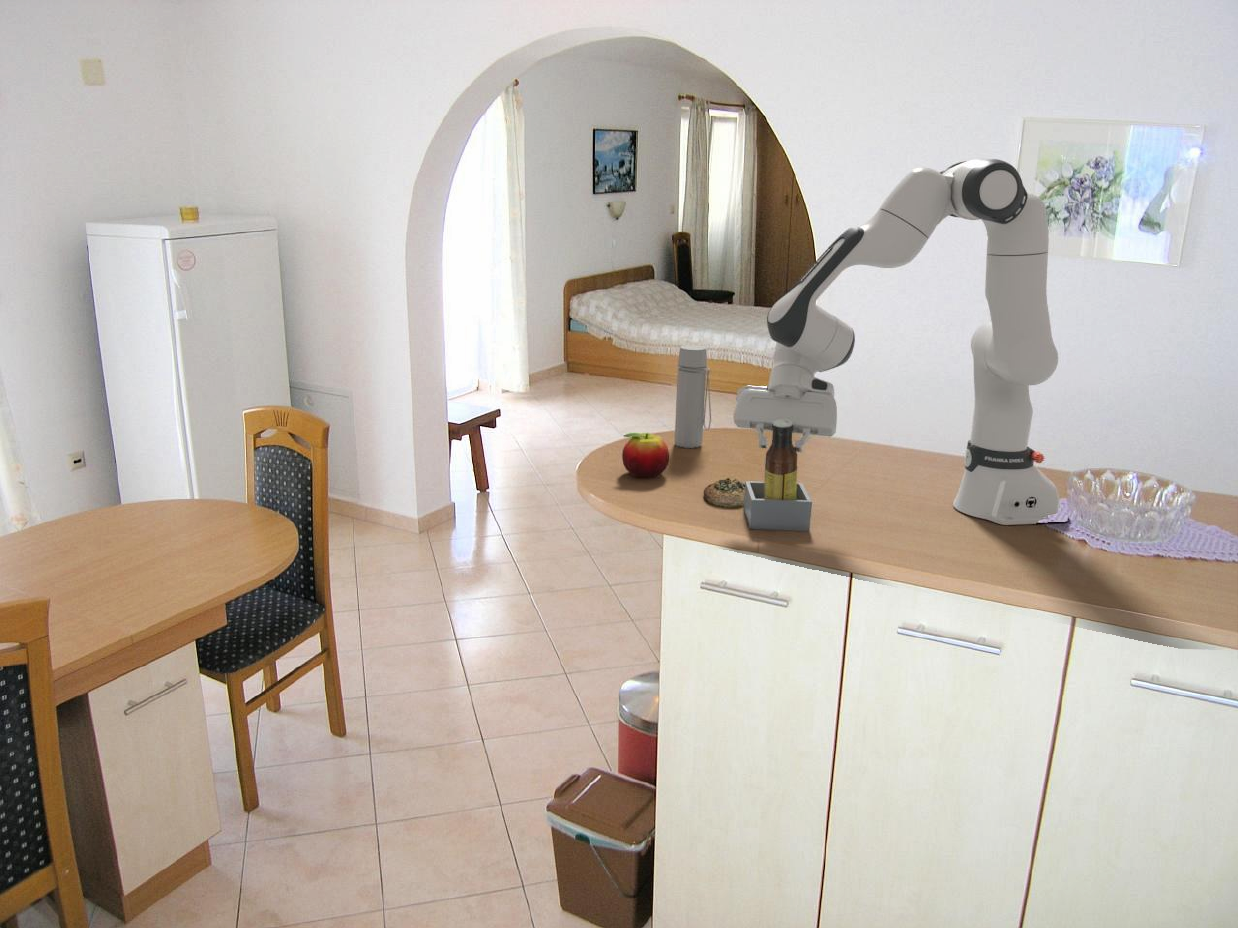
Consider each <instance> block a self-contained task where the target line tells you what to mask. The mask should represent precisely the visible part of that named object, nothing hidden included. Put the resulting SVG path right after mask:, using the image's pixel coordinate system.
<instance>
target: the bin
mask: <svg viewBox="0 0 1238 928" xmlns="http://www.w3.org/2000/svg"><path fill="white" fill-rule="evenodd" d="M764 483H765V481H754V480H753V481H752V480H751V481H748V480H746V481H745V483H744V484H745V493H744V505H743V511H744V515H745V518H746V521H747V524H748V525H747V526H748V527H749V529H750V530H764V531H765V530H768V531H769V530H770V531H774V530H775V531H796V532H797V531H799V532H800V531H803V532H810V528H811V518H812V509H813V508H812V507H813V501H812V499H811V497H810V494H808V492H807V489H806V488H805V485H804V483H803V482H797V490H796V500H782V499H764Z"/></svg>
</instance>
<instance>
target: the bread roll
mask: <svg viewBox="0 0 1238 928" xmlns="http://www.w3.org/2000/svg"><path fill="white" fill-rule="evenodd" d="M744 493H745V483H743V482H742V481H740V480H739V479H737V478H735V479H733V480H732V479H730V477H727V478H725V479H723V478H721V479H719V480H718V481H717V480H716V481H715V482H713V483H711V484H708V485H707V486H706V487H705V488H704V489H703V497H704V500H706V501H707V502H708V503H709V504H711V505H714V506H717V507H722V506H724V507H723V508H734V507H735V508H737V507H742V506H743V507H744ZM718 505H720V506H718Z"/></svg>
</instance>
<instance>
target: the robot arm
mask: <svg viewBox="0 0 1238 928" xmlns="http://www.w3.org/2000/svg"><path fill="white" fill-rule="evenodd" d="M1046 208H1047V207H1046V204H1045V202H1044V201H1043V199H1042V198H1040V197H1039V196H1037V195H1035V194H1032V193H1028V192H1027V189H1026V188H1025V185H1024V183H1023V180H1022V178H1021V175H1020V173H1019V171H1018V170H1017V169H1016V168H1015V167H1014V166H1013V165H1012V164H1010V163H1009V162H1007V161H1005V160H1002V159H999V158H997V159H996V158H992V159H991V158H990V159H989V158H975V159H971V160H967V161H966V160H965V161H960V162H957V163H955V164H951V165H950V166H949V167H947V168H945V169H943V170H942V171H940V172H939V171H937V170H936V169H932V168H930V167H917V168H914V169H912V170H911V171H909V172H908V173H907V174H906V175H905V176H904V177H903V178H902V179H901V180H900V182H899V183H898V184H897V185H896V186H895V187H894V188H893V189H892V191H891V192H890V193H889V195H888V196H887V197H886V198H885V199H884V201H883V203H882V204H881V206H880V207H879V208H878V209H877V211H876V212H875V214H874V215H873V216H872V217H871V218H870V219H869V220H867V222H865V223H864V224H862V225H861V226H857V227H856V226H853V227H850V228H848V229H847V230H845V231H844V232H843V233H842V234H840V235H839V236H838V237H837V238H836V239H834V241H833V242H832V243H831V244H829V247H827V249H825V250H824V251H823V253H822V254H820V256H819V257H818V258H817V260H815V261H814V263H813V264H812V265H811V266H810V268H808V269H807V271H806V272H805V273H804V274H803V275H802V276H801V277H800V278H799V279H798V281H797V282H796V283H795V284H794V285H793V286H792V287H791V288H790V289H789V290H788V291H787V292H785V293H784V294H783V295H782V296H781V297H780V298H778V299H777V300H776V302H775V303H774V304H773V305H772V306H771V308H770V309H769V311H768V313H767V315H766V316H767V317H766V325H767V330H768V332H769V337H770V339H771V340H772V341H774V342H776V344H775V347H774V352H773V365H772V366H773V367H772V368H771V370H770V374H769V375H770V376H769V380H768V386H763V385H761V386H760V385H757V386H756V385H749V384H748V385H745V386H743V387H742V386H741V387H740V388H739V389H738V390H737V392H736V398H735V400H736V402H737V403H736V405H735V409H734V411H733V422H734V424H735V426H736V427H737V428H741V429H753V430H755V431H756V436H757V437H758V448H760V449H761V448H762V449H767V448H768V436H764V432H765V431H770V432H773V431H772V422H773V421H775V420H778V419H785V420H790V421H792V422H793V424H794V425H793V427H794V429H793V431H792V434H800V435H802V437H801V438H800V439H795V440H794V445H793V447H794V449H795V451H796V452H797V453H799V452H800V453H803V449H804V448H803V447H804V446H805V445H806V443H808V442H809V440H811V436H821V437H828V438H829V437H830V438H831V437H833V436H834V435H836V433H837V426H838V425H837V424H838V423H837V421H838V420H837V419H838V411H837V401H836V399H835V387H834V384H833V383H831V382H829V381H825V380H823V379H821V378H819V377H815V375H816V373H817V372H818V373H823V372H826V371H829V370H833V369H835V368H838V367H840V366H842V365H844V364H845V363H847V362H848V361H849V360H850V359H851V358H850V357H852V353H853V351H854V348H855V342H856V338H855V337H856V335H855V331H854V329H853V327H851V326H850V325H848V324H847V323H846V322H845V321H843V320H841V319H840V318H838V317H837V316H835V315H833V314H831V313H829V312H828V311H826V310H825V309H823V308H822V307H820V306H819V305H818V304H816V303H817V300H818V299H819V297H820V296H822V295H823V294H824V293H825V292H826V290H827V289H828V288H829V287H830V286H831V284H832V283H833V282H834V281H835V280H836V279H837V278H838V277H839V276H840V274H842V273H843V272H844V271H845V270H847V269H848V268H850V267H853V266H859V265H860V266H861V265H862V266H863V265H864V266H869V267H876V268H883V269H895V268H899V267H903V266H905V265H908V264H910V263H911V262H912V261H914V260H915V258H916V257H917V255H919V253H920V252H921V251H922V250H923V249H924V246H925V245H926V244H927V242H928V240H929V238H931V237H932V234H933V233H934V231H935V230H936V228H937V226H938V225H940V223H941V222H942V221H943V220H944V219H946V218H947V217H949V216H950V217H954V218H961V219H964V220H969V221H978V220H981V221H982V222H983V225H984V227H985V229H986V235H987V236H986V237H987V244H986V256H985V257H986V263H985V281H984V282H985V284H984V295H985V298H986V301H987V304H988V309H989V314H990V320H988V321H986V322H984V323H983V324H980V326H978V327H977V328H976V329H975V331H974V332H973V334H972V337H971V340H970V350H971V354H972V358H973V361H972V362H973V386H974V387H973V389H974V407H973V416H972V423H971V424H972V425H971V431H970V438H969V440H968V441H967V445H966V449H965V453H964V466H963V467H964V473H963V475H962V480H961V482H960V485H959V489H958V491H957V494H956V496H955V497H954V500H953V502H952V507H954V509H956V510H957V511H958V512H961V513H963V514H966V515H968V516H971V517H975V518H978V519H983V520H987V521H990V522H993V523H996V524H999V525H1003V526H1009V525H1010V526H1011V525H1012V526H1013V525H1014V526H1015V525H1033V524H1034V525H1035V524H1036V523H1037V522H1038V521H1039V520H1043V519H1049V518H1048V515H1052V514H1056V513H1058V512H1059V505H1060V497H1059V496H1060V495H1059V491H1058V488H1057V486H1056V485H1055V484H1054V482H1053V481H1052V480H1050V479H1049V478H1048V477H1047V475H1045V474H1044V473H1043V472H1042V471H1041V470H1040V469H1039V468H1038V467H1036V466H1035V464H1034V463H1036V464H1042V463H1043V462H1044V461H1045V456H1044V454H1042V453H1041V452H1040V451H1035V450H1034V449H1033V448H1030V447H1029V446H1028V445H1029V439H1030V432H1031V427H1032V426H1031V425H1032V420H1033V412H1034V411H1033V409H1034V408H1033V405H1032V402H1031V397H1030V390H1029V389H1030V387H1029V386H1037V385H1040V384H1042V383H1044V382H1047V380H1048V379H1050V378H1051V376H1053V374H1054V373H1055V371H1056V370H1057V367H1058V363H1059V353H1058V350H1057V347H1056V345H1055V342H1054V340H1053V334H1052V326H1051V320H1050V313H1049V306H1048V297H1047V296H1048V295H1047V282H1048V281H1047V280H1048V279H1047V278H1048V263H1049V262H1048V261H1049V244H1050V243H1049V242H1050V241H1049V239H1050V237H1049V224H1048V222H1049V221H1048V214H1047V209H1046ZM1044 517H1046V518H1044ZM1036 525H1037V524H1036Z"/></svg>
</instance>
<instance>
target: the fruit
mask: <svg viewBox="0 0 1238 928" xmlns="http://www.w3.org/2000/svg"><path fill="white" fill-rule="evenodd" d="M623 437H624V438H630V439H628V440H627V441H626V443H625V444H624V446H623V449H622V454H621V457H622V458H621V459H622V464H623V467H624V468H625V470H626V471H627V473H629V474H630V475H632V476H633V477H636V478H641V479H650V478H651V479H652V478H653V479H654V478H657V477H659V476H660V475H661V474H663V472H664V471H665V470H666V469H667V467H668V465H669V462H670V453H669V447H668V445H667V444H666V442H665V440H664V439H663V438H662V437H661V436H659V435H656V434H653V433H652V434H651V433H649V432H640V433H639V432H630V433H626V434H625V435H623Z"/></svg>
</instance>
